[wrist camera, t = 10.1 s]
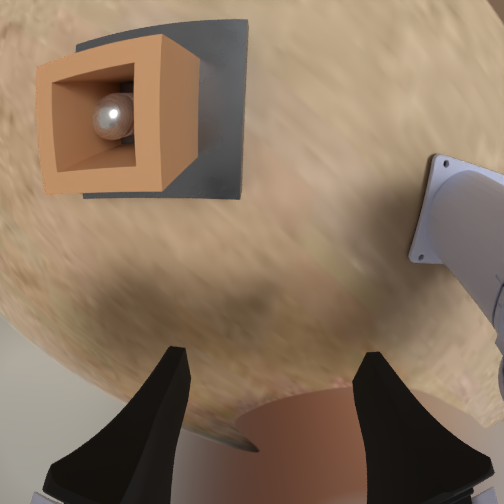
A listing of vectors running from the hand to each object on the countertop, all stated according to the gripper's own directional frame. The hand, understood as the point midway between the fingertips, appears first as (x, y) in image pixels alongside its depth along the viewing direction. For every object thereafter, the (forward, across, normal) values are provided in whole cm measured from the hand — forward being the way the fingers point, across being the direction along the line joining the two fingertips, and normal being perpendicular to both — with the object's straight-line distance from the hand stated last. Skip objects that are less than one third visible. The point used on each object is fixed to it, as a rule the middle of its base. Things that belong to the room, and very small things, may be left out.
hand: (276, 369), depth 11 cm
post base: (+9, +7, -9) cm, 15 cm away
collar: (+8, +7, -9) cm, 14 cm away
